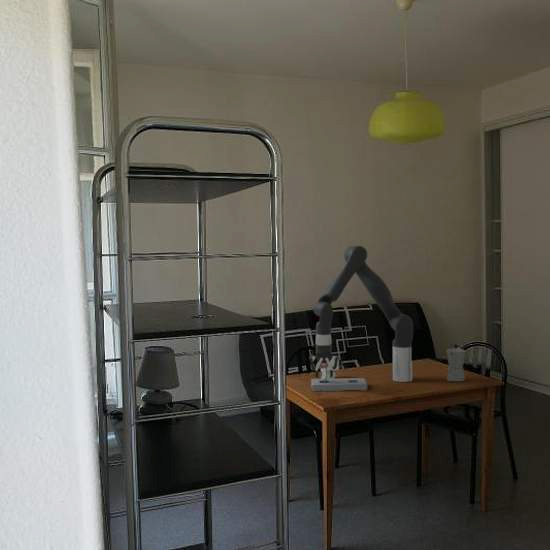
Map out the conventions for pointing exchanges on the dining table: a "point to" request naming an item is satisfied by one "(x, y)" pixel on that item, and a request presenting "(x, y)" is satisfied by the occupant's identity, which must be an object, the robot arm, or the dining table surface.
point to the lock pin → (324, 372)
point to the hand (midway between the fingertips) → (324, 377)
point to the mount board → (339, 384)
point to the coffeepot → (455, 364)
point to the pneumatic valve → (332, 366)
